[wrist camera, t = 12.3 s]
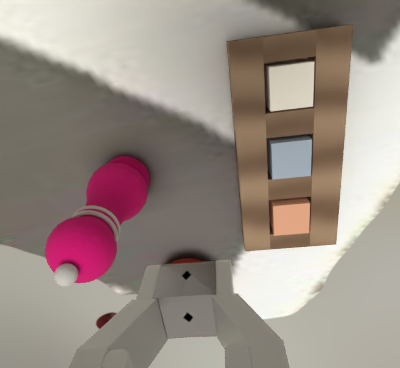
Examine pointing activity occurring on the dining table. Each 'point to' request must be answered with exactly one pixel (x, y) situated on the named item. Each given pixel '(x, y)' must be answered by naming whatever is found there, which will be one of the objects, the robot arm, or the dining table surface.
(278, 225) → the terracotta button
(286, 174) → the slate button
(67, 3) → the dining table surface
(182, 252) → the dining table surface
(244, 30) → the dining table surface
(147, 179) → the pepper mill
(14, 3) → the dining table surface
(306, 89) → the cream button
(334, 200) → the button panel
